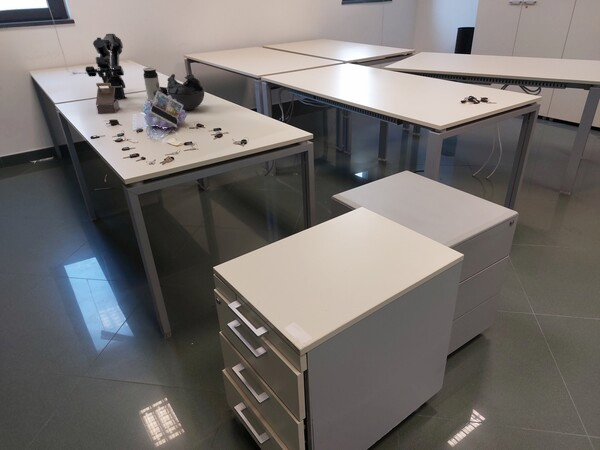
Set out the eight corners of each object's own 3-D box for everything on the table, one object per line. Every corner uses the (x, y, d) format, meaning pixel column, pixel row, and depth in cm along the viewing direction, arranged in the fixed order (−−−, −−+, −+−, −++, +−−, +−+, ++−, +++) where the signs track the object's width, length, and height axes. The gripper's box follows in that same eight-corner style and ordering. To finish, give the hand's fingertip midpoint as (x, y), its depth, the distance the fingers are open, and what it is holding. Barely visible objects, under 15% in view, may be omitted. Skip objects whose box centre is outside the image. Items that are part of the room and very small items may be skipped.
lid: (98, 89, 230) (94, 81, 225) (114, 88, 232) (111, 80, 227) (96, 104, 225) (92, 96, 220) (113, 104, 226) (110, 96, 221)
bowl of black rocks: (213, 109, 235) (209, 74, 225) (183, 116, 222) (177, 80, 213) (192, 103, 246) (188, 70, 237) (162, 109, 234) (157, 74, 224)
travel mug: (145, 100, 253) (139, 69, 244) (153, 97, 259) (148, 67, 250) (155, 101, 250) (150, 70, 241) (164, 98, 256) (159, 67, 247)
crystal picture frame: (166, 107, 220) (147, 81, 205) (199, 110, 211) (182, 82, 197) (147, 136, 211) (126, 111, 196) (181, 140, 203) (162, 114, 188)
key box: (103, 108, 237) (101, 99, 234) (119, 107, 238) (117, 99, 236) (98, 113, 227) (96, 105, 225) (115, 112, 228) (113, 104, 226)
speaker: (167, 102, 246) (163, 85, 240) (171, 105, 242) (167, 87, 236) (155, 106, 243) (150, 88, 237) (159, 108, 239) (154, 90, 233)
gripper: (81, 50, 224) (81, 76, 220) (118, 49, 226) (118, 75, 223) (89, 63, 234) (89, 88, 231) (123, 62, 237) (124, 87, 233)
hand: (105, 84), depth 229 cm, fingers closed
